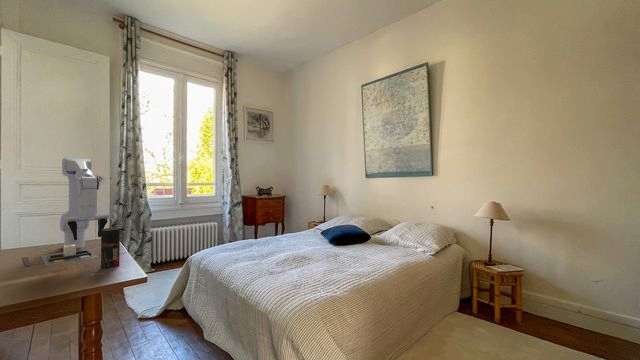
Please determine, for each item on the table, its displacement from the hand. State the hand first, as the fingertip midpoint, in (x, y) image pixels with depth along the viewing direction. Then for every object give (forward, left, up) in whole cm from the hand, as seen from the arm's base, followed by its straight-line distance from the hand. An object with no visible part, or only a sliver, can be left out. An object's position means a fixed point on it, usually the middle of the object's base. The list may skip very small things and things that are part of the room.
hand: (87, 238), depth 113 cm
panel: (-11, -4, -10) cm, 15 cm away
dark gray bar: (-13, -17, -10) cm, 23 cm away
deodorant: (+12, +5, -10) cm, 17 cm away
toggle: (-11, -4, -9) cm, 15 cm away
